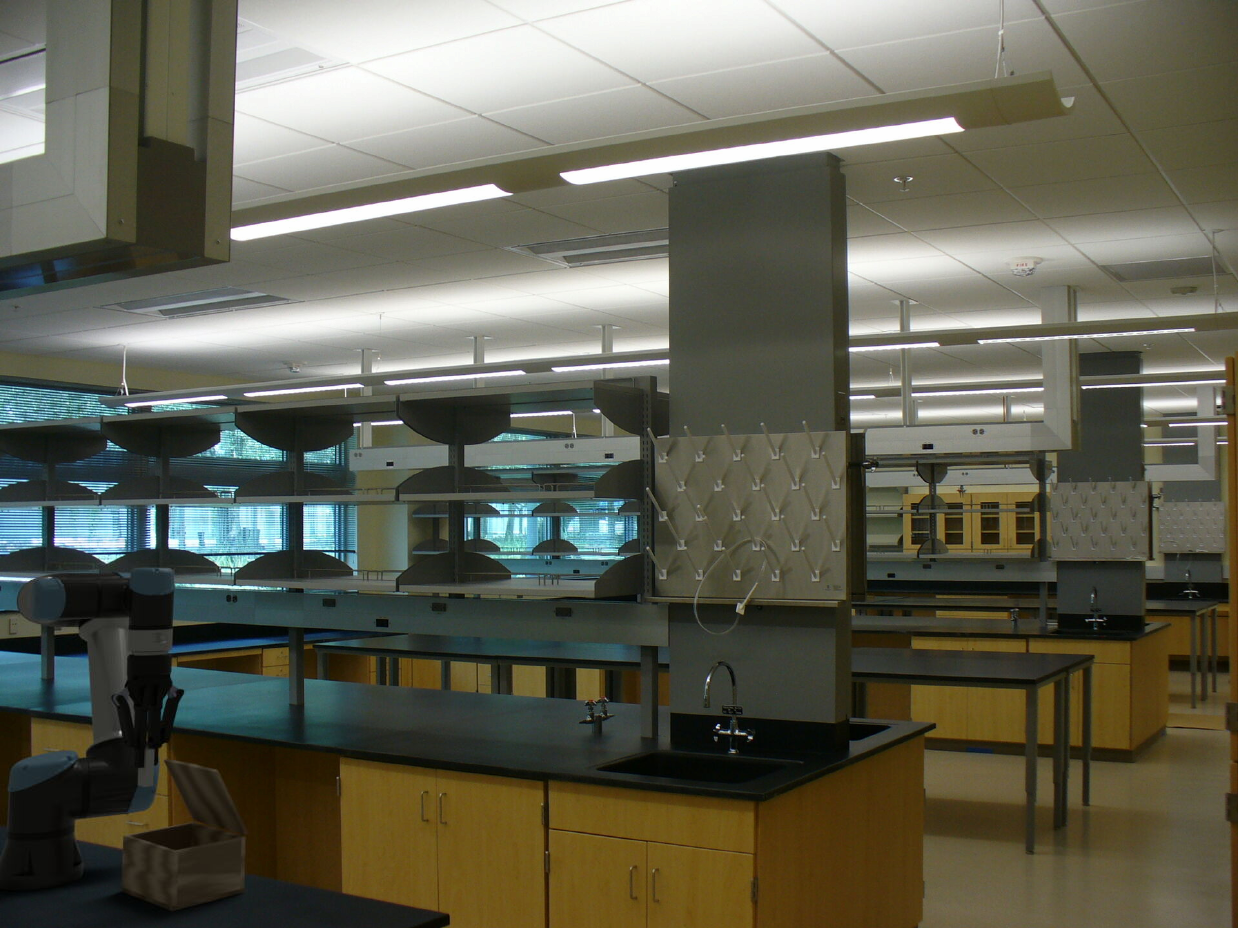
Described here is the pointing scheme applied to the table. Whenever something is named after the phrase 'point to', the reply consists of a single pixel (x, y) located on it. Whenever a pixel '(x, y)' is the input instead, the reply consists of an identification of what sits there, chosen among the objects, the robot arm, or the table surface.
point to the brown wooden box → (183, 865)
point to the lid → (206, 795)
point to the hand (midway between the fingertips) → (145, 785)
